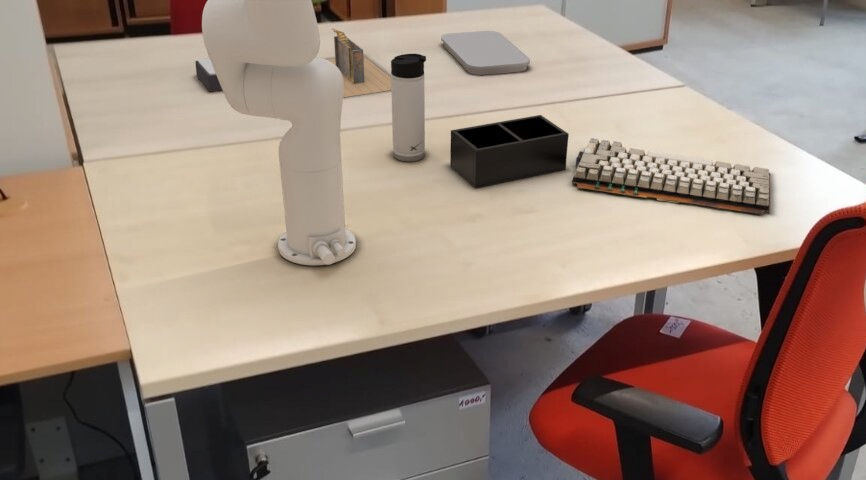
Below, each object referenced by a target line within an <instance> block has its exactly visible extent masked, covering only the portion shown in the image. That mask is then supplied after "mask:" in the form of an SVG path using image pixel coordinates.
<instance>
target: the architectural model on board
mask: <svg viewBox="0 0 866 480" xmlns="http://www.w3.org/2000/svg"><path fill="white" fill-rule="evenodd" d="M331 30H332V31H333V33H335V34H336V35H334V36H333V41H334V58H329V59H328V58H327V60H328V61H330V62H332V63H333V64H334V65H336V66H337V67H338V68H339V70H340V71H341V73H342V76H343V81H344V94H343V98H347V97H354V96H355V97H356V96H362V95H368V94H369V95H370V94H374V93H381V92H388V91H391V76H389V75H388V74H387V73H385V72H384V71H383V70H381V69H380V68H379V67H377V66H376V65H375V64H374V63H372V62H371V60H369V59H367V57H365V56H364V49H363V48H362V47H360V46H359V45H358V44H356V43H355V42H354V41H353V40H351V39H350V38H349V37H348V36H346V34H345V32H344V31H341V30H338V29H335V28H331Z"/></svg>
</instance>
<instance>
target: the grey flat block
mask: <svg viewBox="0 0 866 480" xmlns="http://www.w3.org/2000/svg"><path fill="white" fill-rule="evenodd" d="M440 39H441V42H442V43H443V47H444V49H446V50H447V51H448V52H449V53H450V55H451V56H452V57H453V58H454V59H455V60H456V61H457V62H458V63H459V65H461V66H462V67H463V68H464V69H465V70H466V71H467V72H468V73H469V74H471V75H476V76H484V75H498V74H507V73H519V72H520V73H521V72H525V71H527V70H528V69H527V68H528V65H530V64H531V59H530V57H529V56H527V55H526V53H524V52H523V51H522V50H521V49H519V48H518V47H517V46H516V45H515V44H514V43H513V42H512V41H511V40H509V39H508V38H507V37H506V36H505V35H503V34H502V33H501V32H499V31H494V30H479V31H465V32H453V33H452V32H451V33H445V34H442V35H441V37H440Z"/></svg>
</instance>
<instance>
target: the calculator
mask: <svg viewBox="0 0 866 480" xmlns="http://www.w3.org/2000/svg"><path fill="white" fill-rule="evenodd" d="M194 63H195V73H196V77H197V78H198V80H199V81H200V82H201V83H202V85H204V87H205V88H206V89H207V91H209V92H218V91H219V92H220V91H223V90H222V87H221V85H220V83H219V80H218V78H217V75H216V73H215V70H214V68H213V65H212V63H211V61H210V58H202V59H197V60H195V61H194Z"/></svg>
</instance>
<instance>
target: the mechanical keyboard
mask: <svg viewBox="0 0 866 480" xmlns="http://www.w3.org/2000/svg"><path fill="white" fill-rule="evenodd" d="M577 155H578V156H576V159H575V167H576V169H575V172H574V175H573V177H572V179H571V183H572V184H574V185H575V184H576V188H579V189H583V190H584V189H585V190H590V191H597V192H602V193H609V194H610V193H612V194H618V195H622V196H623V195H624V196H631V197H638V198H645V199H648V198H654V199H656V201H660V202H668V203H677V204H679V203H684V204H692V205H699V206H702V207H710V208H713V209H714V208H715V209H719V210H730V211H734V212H742V213H748V214H756V215H763V214H764V213H771V173H770V169H769V168H765V167H758V166H754V167H753V169H752V170H751V167H750V165H746V164H745V165H744V164H739V163H735V164H734V166H733V167H732V163H731V162H724V161H718V160H717V161H716V162H715V163H714V162H713V160H712V159H709V158H702V157H695V156H688V155H682V154H678V153H677V154H676V153H670V152H669V153H668V152H663V151H655V150H648V151H647V153H645V150H644V149H638V148H632V147H631V148H629V150H628V152H627V148H626V147H625V146H623V144H622V142H621V141H617V140H616V141H613V142H612V143H611V142H610V140H607V139H601V140H599V138H594V137H591V138H590V139H589V141H588V143H587V144H586V145H585V148H584V150H583V151H581V150H580V151H579V152H578V154H577Z"/></svg>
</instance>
